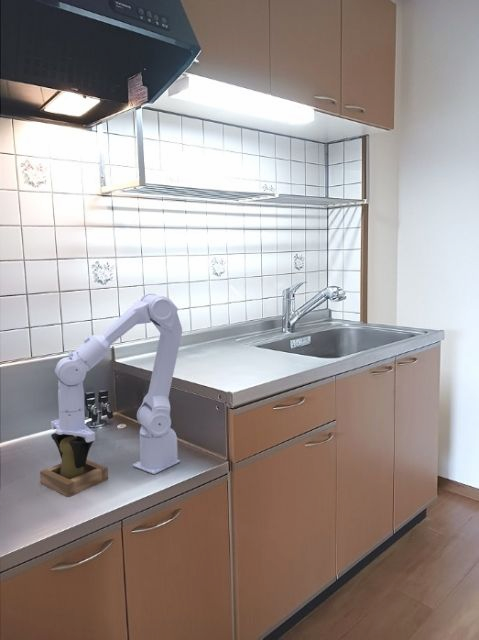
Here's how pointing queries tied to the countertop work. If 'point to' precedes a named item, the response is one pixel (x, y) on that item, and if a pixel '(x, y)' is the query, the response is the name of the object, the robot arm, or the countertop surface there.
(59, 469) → the socket block
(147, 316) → the robot arm
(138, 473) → the countertop surface
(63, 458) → the olive rounded peg
